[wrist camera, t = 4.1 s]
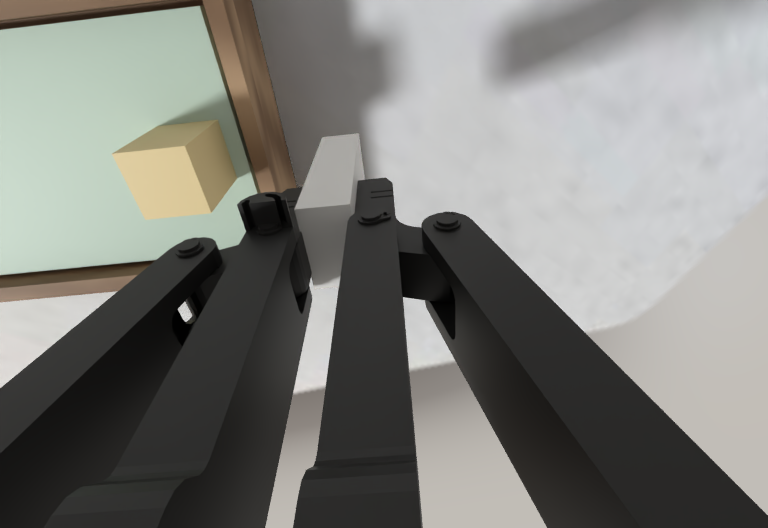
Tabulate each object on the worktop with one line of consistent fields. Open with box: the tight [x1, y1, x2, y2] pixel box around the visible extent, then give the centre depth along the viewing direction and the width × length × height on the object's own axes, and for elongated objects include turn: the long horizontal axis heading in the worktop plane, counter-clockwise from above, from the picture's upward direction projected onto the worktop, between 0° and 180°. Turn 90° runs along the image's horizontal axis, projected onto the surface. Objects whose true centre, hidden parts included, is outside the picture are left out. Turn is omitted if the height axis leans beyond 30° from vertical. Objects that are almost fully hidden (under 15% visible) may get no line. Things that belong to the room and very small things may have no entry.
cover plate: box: [0, 6, 261, 275], centre depth 18 cm, size 12×18×5 cm
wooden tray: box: [0, 0, 297, 302], centre depth 21 cm, size 15×20×5 cm
